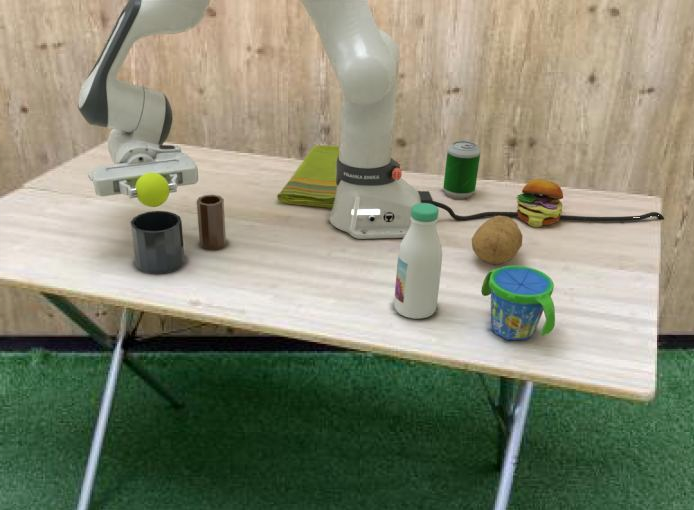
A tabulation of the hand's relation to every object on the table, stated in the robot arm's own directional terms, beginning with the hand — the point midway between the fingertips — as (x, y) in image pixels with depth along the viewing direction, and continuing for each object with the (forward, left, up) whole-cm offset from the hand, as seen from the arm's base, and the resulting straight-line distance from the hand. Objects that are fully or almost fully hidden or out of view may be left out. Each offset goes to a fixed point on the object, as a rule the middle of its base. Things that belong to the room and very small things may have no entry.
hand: (153, 191), depth 148 cm
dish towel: (-28, -49, -16) cm, 58 cm away
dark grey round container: (0, -1, -16) cm, 16 cm away
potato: (-66, -12, -16) cm, 69 cm away
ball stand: (-8, -10, -16) cm, 20 cm away
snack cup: (-67, +15, -16) cm, 71 cm away
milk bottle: (-50, +10, -16) cm, 54 cm away
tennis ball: (0, -1, 0) cm, 1 cm away
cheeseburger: (-77, -33, -16) cm, 85 cm away
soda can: (-60, -44, -16) cm, 76 cm away
